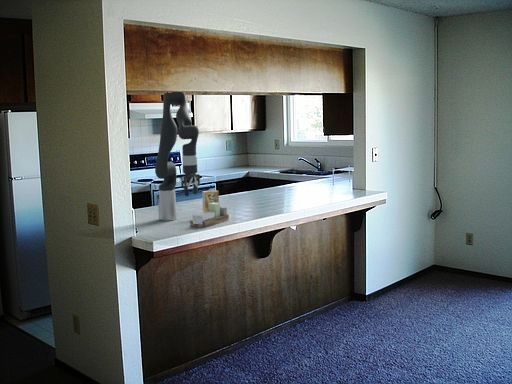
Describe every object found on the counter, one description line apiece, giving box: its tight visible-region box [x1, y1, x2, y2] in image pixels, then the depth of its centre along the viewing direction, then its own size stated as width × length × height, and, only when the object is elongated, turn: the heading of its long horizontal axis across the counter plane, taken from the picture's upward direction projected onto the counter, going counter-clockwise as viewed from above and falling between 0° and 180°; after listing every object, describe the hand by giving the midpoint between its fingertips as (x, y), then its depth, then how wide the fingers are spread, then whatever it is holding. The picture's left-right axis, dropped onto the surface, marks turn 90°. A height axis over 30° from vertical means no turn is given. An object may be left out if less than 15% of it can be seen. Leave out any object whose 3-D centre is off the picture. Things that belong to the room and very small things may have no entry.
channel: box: [189, 206, 230, 228], centre depth 335 cm, size 10×24×7 cm, turn 151°
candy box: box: [201, 189, 220, 212], centre depth 353 cm, size 9×4×15 cm, turn 120°
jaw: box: [191, 211, 215, 225], centre depth 330 cm, size 6×12×5 cm, turn 151°
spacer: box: [209, 202, 221, 218], centre depth 339 cm, size 4×4×9 cm
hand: (191, 195), depth 318 cm, fingers open, 7 cm apart
